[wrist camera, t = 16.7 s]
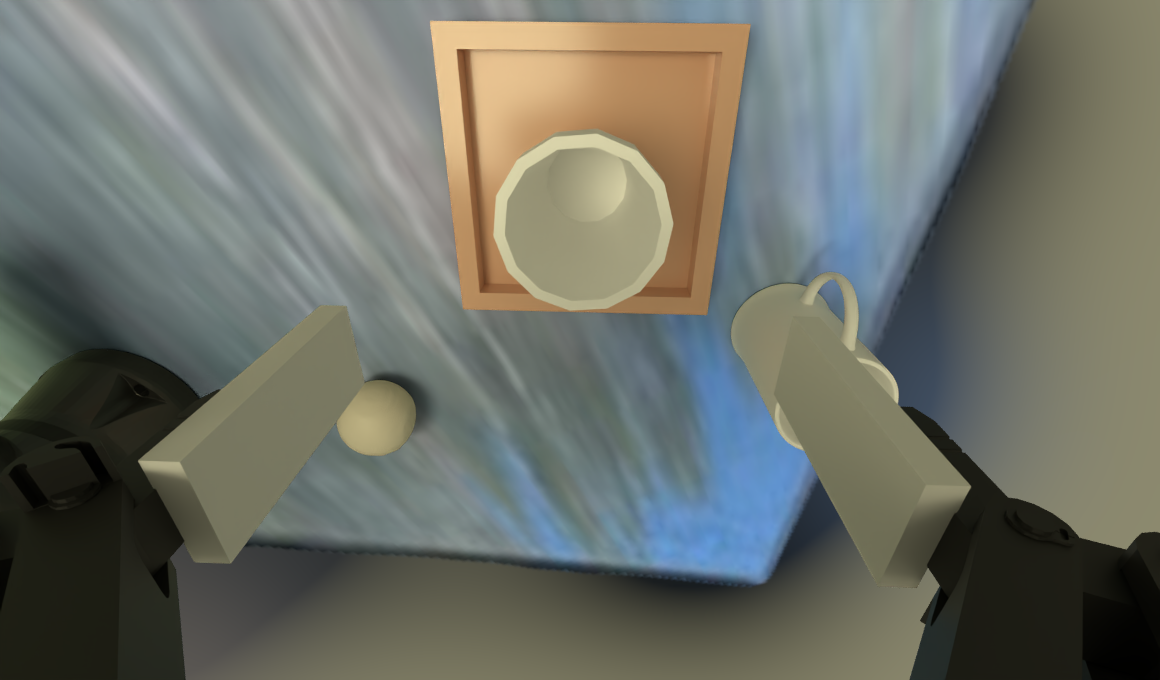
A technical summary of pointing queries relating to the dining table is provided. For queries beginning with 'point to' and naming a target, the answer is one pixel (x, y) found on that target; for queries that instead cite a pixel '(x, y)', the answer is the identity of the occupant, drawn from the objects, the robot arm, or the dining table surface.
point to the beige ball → (378, 419)
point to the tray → (590, 101)
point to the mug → (767, 329)
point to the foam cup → (583, 220)
